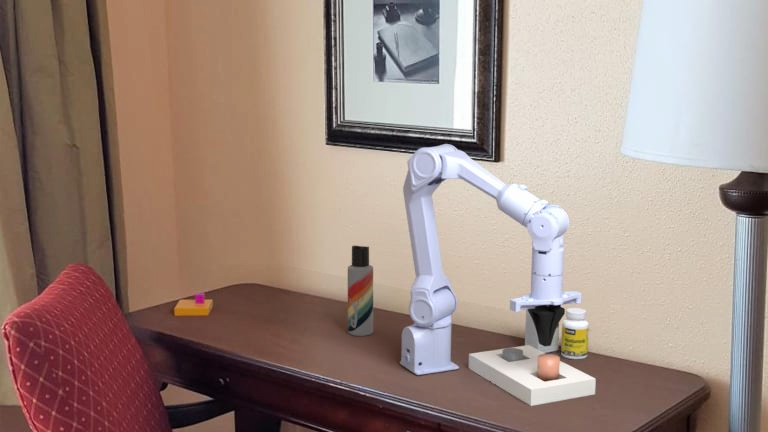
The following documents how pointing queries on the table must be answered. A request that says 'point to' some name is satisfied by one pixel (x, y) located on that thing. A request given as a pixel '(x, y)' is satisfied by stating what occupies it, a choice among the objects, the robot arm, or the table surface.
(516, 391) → the white board with holes
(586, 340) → the supplement bottle
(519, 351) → the button far
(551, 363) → the button near
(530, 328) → the skincare box
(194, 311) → the yellow slab with magenta
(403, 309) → the table surface
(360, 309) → the lotion bottle
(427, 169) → the robot arm
